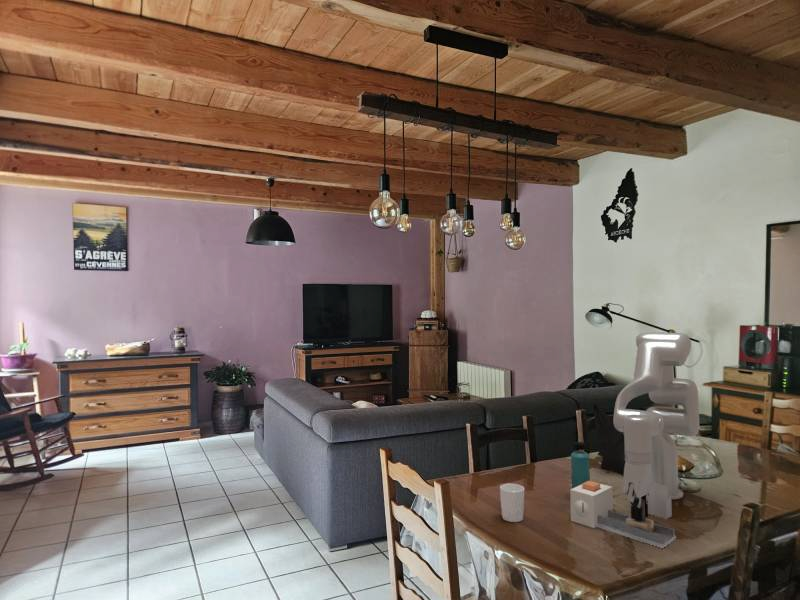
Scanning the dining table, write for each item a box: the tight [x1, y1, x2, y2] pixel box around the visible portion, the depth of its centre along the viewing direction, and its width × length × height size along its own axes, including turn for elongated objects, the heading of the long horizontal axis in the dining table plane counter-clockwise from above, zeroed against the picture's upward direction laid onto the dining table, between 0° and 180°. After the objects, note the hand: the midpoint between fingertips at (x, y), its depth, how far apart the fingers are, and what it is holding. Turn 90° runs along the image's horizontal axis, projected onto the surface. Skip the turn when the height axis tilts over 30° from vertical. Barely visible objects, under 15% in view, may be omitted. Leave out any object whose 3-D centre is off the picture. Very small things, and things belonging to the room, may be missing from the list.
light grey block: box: [646, 483, 673, 520], centre depth 170 cm, size 4×7×10 cm, turn 39°
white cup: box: [499, 483, 525, 523], centre depth 170 cm, size 8×8×10 cm
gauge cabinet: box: [569, 483, 614, 529], centre depth 167 cm, size 12×8×10 cm, turn 131°
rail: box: [596, 510, 677, 549], centre depth 157 cm, size 9×20×3 cm, turn 41°
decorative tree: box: [592, 403, 626, 475], centre depth 214 cm, size 15×15×35 cm
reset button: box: [582, 480, 601, 492], centre depth 168 cm, size 4×4×4 cm
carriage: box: [626, 498, 655, 532], centre depth 156 cm, size 5×6×9 cm
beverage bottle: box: [570, 441, 591, 489], centre depth 186 cm, size 6×7×20 cm
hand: (639, 517), depth 156 cm, fingers closed on carriage, 3 cm apart
